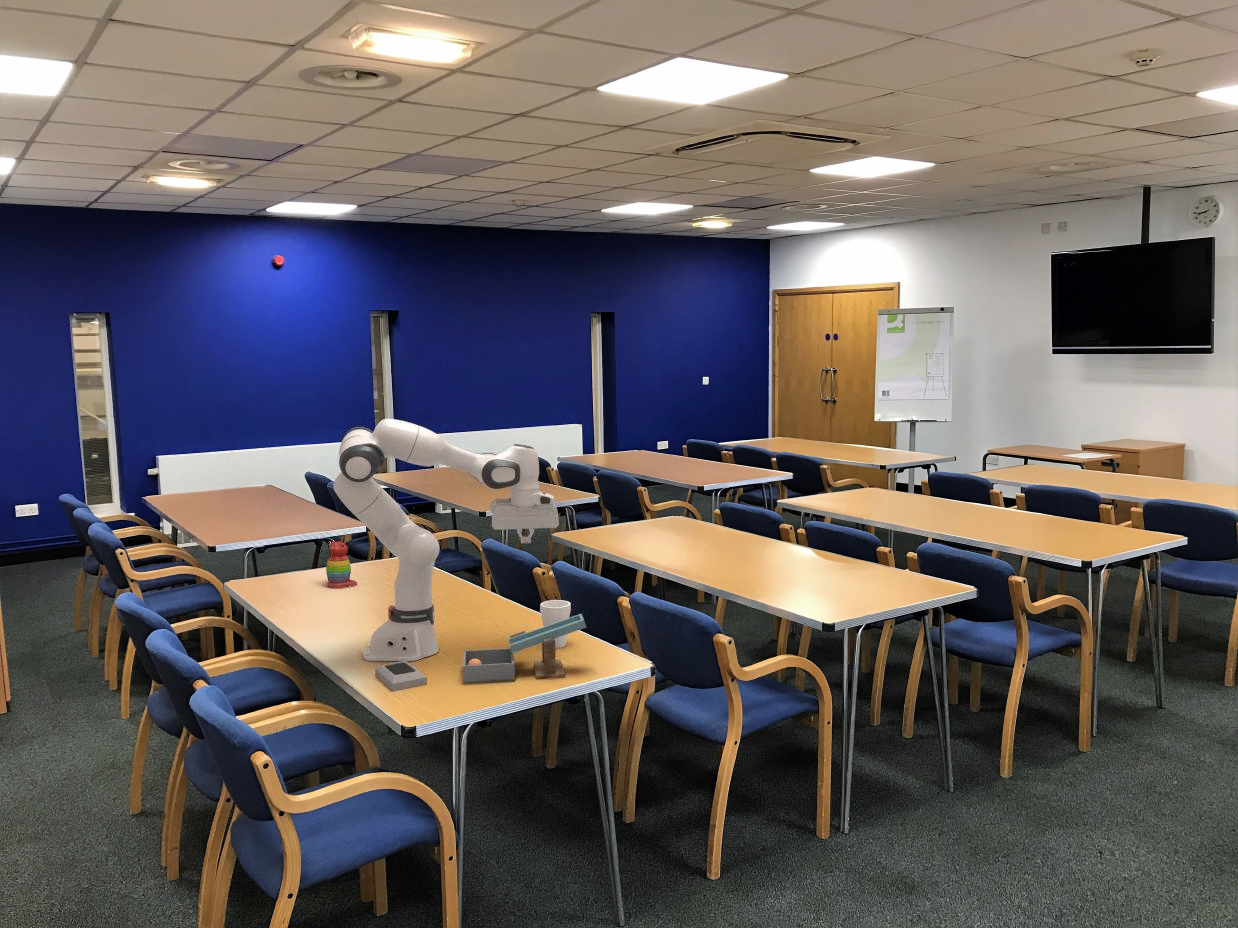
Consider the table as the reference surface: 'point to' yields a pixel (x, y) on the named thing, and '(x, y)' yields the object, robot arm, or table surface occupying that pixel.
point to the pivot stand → (548, 662)
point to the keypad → (400, 676)
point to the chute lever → (545, 633)
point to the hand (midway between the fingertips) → (525, 543)
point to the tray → (488, 666)
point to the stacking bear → (339, 567)
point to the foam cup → (555, 616)
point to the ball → (474, 662)
